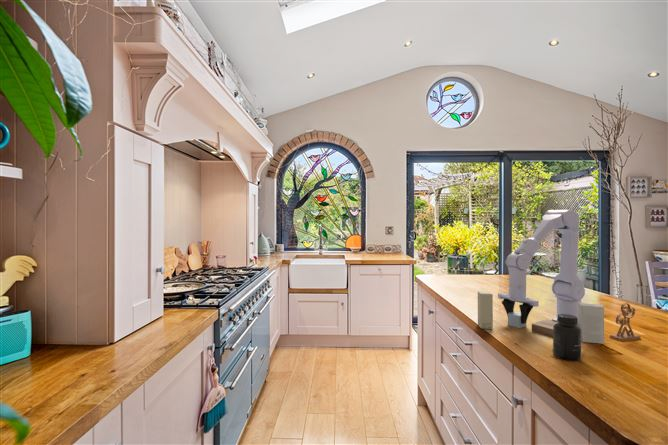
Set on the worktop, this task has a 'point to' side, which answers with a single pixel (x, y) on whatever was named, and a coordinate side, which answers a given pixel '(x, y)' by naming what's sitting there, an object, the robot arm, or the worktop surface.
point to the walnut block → (544, 327)
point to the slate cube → (515, 320)
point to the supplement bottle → (567, 338)
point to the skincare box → (591, 322)
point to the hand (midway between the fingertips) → (517, 321)
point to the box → (485, 310)
